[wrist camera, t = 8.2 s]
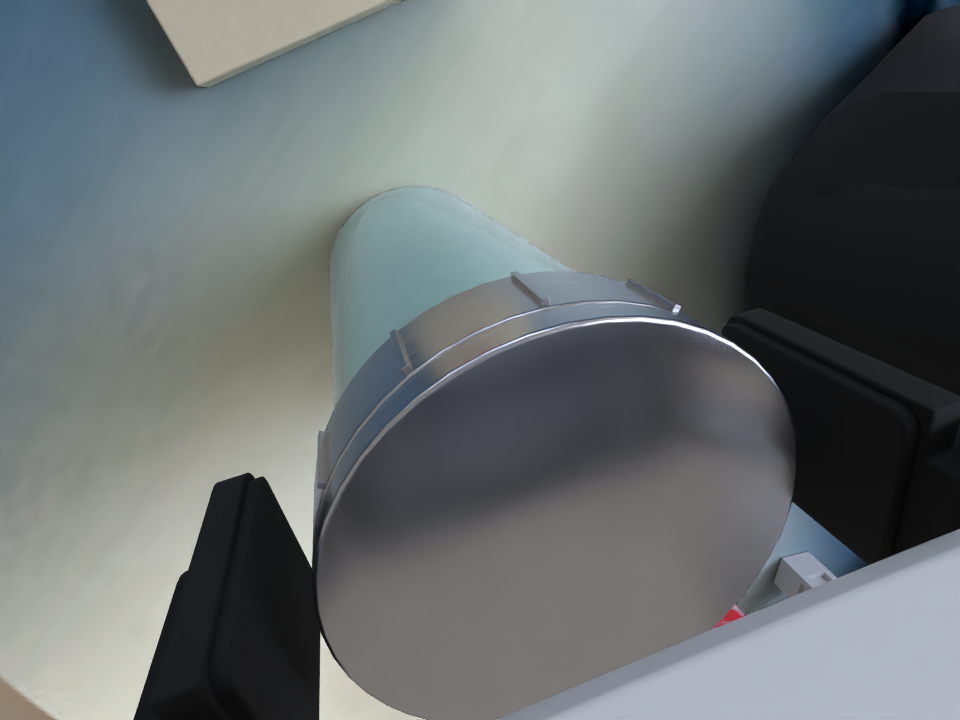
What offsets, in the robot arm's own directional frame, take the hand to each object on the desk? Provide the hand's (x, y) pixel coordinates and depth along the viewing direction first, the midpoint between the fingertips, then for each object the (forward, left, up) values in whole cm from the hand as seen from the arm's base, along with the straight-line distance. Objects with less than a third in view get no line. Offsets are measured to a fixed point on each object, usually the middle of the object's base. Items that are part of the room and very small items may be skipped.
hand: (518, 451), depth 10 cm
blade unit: (0, 0, +2) cm, 2 cm away
